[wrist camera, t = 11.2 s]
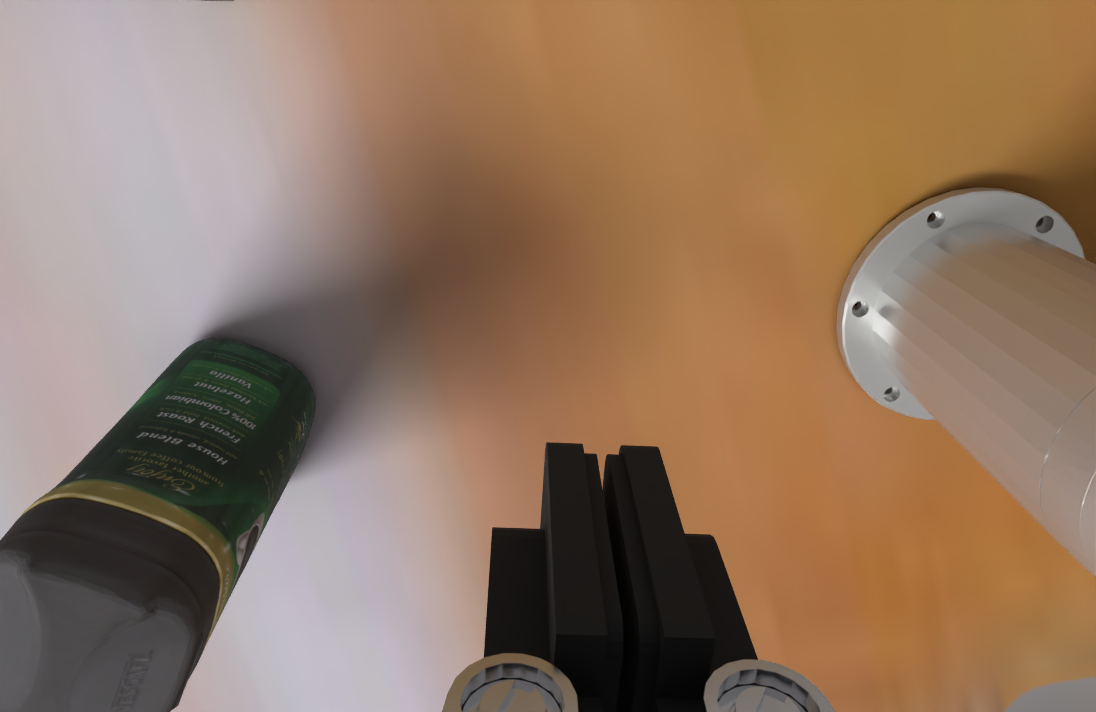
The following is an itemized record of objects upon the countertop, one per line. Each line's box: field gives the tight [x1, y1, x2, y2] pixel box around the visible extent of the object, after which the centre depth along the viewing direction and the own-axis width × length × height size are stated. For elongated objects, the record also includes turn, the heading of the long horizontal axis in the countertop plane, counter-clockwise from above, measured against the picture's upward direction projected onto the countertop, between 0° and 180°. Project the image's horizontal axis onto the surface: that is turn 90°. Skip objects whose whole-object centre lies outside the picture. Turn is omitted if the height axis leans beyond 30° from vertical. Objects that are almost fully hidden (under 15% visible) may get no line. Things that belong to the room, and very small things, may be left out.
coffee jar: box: [0, 338, 315, 712], centre depth 35 cm, size 10×8×19 cm
